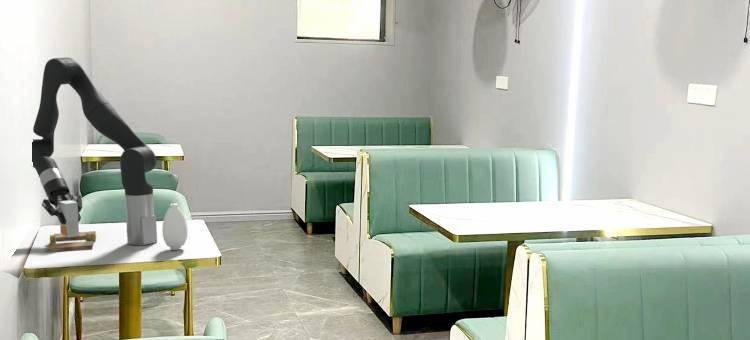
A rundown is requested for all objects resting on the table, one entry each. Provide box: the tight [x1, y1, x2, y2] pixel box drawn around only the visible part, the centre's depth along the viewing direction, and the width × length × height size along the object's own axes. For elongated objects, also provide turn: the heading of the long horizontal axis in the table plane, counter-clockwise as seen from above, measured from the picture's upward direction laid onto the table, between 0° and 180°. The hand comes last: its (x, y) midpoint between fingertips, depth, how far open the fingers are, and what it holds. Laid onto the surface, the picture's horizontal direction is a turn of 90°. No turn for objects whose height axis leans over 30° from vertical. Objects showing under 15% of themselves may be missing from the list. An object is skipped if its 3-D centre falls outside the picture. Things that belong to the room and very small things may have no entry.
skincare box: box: [59, 200, 80, 238], centre depth 256 cm, size 6×4×12 cm
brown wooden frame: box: [46, 230, 97, 253], centre depth 257 cm, size 14×24×3 cm, turn 18°
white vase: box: [161, 195, 188, 251], centre depth 245 cm, size 8×8×18 cm
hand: (71, 222), depth 255 cm, fingers closed on skincare box, 4 cm apart
